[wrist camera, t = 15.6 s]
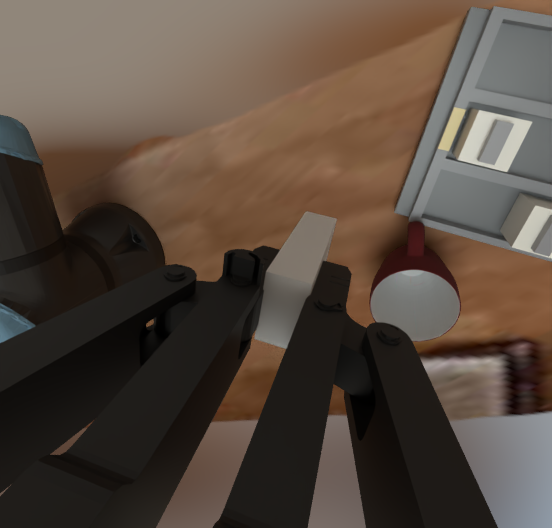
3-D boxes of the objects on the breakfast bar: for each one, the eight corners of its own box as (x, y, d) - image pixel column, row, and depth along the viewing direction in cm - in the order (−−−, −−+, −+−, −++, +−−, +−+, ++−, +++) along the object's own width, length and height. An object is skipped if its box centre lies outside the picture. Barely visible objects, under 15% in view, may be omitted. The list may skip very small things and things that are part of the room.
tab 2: (499, 230, 36) (514, 251, 31) (520, 192, 34) (539, 208, 29) (542, 242, 35) (564, 265, 30) (565, 204, 33) (592, 222, 29)
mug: (369, 212, 41) (360, 247, 33) (447, 203, 38) (459, 238, 30) (380, 292, 45) (374, 342, 37) (451, 289, 42) (462, 342, 34)
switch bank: (394, 207, 40) (393, 217, 37) (467, 11, 31) (474, 2, 28) (568, 256, 37) (584, 271, 34) (704, 52, 28) (743, 47, 25)
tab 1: (451, 152, 34) (459, 162, 30) (470, 107, 32) (481, 110, 28) (495, 162, 34) (510, 174, 29) (516, 118, 32) (536, 122, 27)
